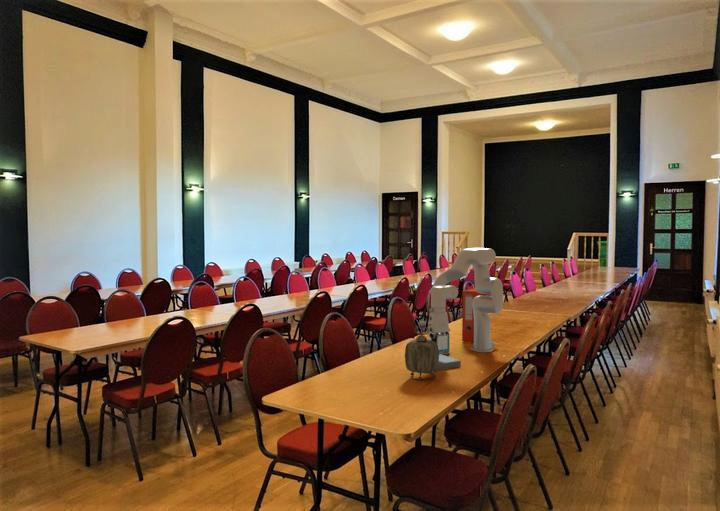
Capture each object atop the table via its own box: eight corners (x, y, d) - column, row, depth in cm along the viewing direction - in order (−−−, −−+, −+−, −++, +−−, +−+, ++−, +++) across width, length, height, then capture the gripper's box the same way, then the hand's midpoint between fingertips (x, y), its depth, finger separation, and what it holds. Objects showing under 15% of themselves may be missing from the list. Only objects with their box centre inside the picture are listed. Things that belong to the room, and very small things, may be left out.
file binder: (486, 338, 334) (486, 288, 333) (474, 343, 321) (474, 291, 319) (474, 337, 339) (474, 288, 338) (462, 341, 326) (462, 290, 324)
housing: (447, 348, 268) (447, 333, 267) (439, 349, 265) (439, 334, 265) (436, 345, 275) (436, 330, 275) (429, 346, 273) (429, 331, 273)
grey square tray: (441, 359, 282) (441, 354, 282) (460, 366, 268) (460, 360, 267) (416, 363, 274) (416, 357, 274) (435, 370, 260) (435, 364, 260)
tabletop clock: (438, 377, 247) (438, 325, 246) (433, 383, 239) (433, 328, 238) (409, 374, 253) (409, 323, 252) (403, 379, 245) (403, 326, 244)
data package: (438, 356, 289) (438, 335, 288) (431, 355, 292) (431, 334, 291) (449, 352, 298) (449, 331, 298) (442, 351, 301) (442, 330, 301)
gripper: (429, 312, 262) (429, 348, 263) (456, 310, 270) (455, 344, 271) (420, 310, 269) (420, 345, 269) (447, 308, 277) (446, 342, 278)
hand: (438, 344), depth 270 cm, fingers closed on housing, 5 cm apart
